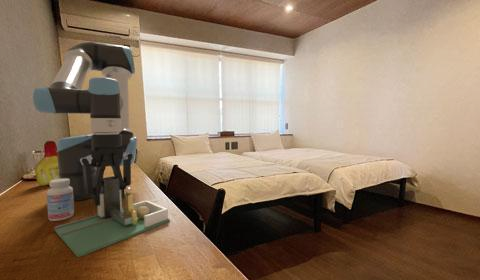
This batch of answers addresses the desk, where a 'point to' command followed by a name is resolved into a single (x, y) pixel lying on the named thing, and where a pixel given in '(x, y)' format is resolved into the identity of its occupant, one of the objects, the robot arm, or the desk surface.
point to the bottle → (48, 165)
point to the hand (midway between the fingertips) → (110, 212)
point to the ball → (142, 212)
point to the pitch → (98, 233)
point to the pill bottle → (60, 200)
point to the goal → (152, 213)
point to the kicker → (117, 202)
